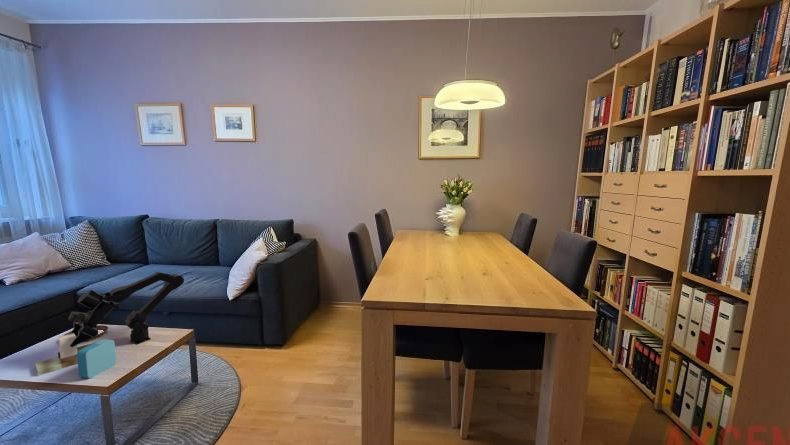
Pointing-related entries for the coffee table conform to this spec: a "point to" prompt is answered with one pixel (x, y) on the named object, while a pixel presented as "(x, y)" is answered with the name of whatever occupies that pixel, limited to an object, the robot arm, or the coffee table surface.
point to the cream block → (67, 345)
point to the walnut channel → (57, 362)
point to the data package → (96, 358)
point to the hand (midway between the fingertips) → (69, 343)
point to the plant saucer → (99, 327)
